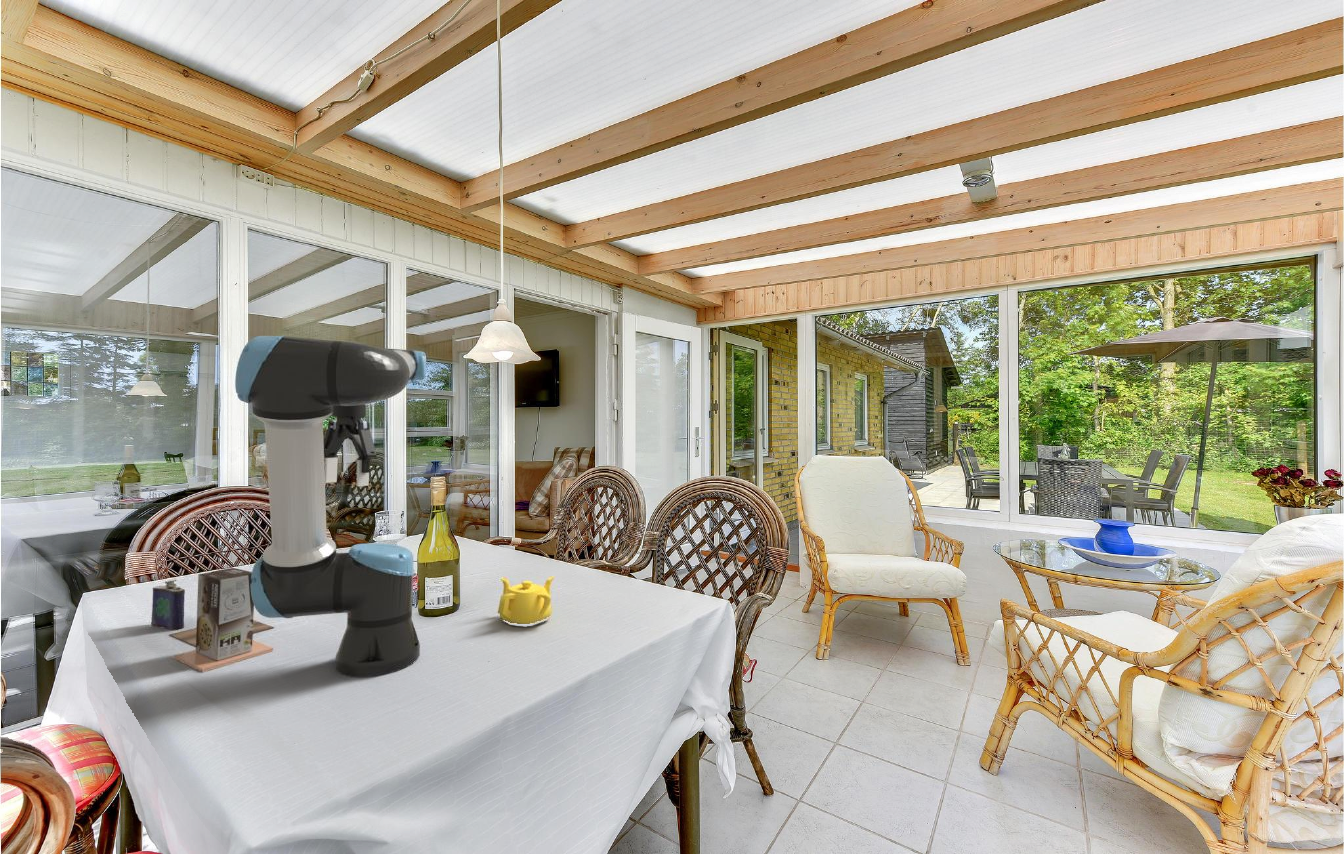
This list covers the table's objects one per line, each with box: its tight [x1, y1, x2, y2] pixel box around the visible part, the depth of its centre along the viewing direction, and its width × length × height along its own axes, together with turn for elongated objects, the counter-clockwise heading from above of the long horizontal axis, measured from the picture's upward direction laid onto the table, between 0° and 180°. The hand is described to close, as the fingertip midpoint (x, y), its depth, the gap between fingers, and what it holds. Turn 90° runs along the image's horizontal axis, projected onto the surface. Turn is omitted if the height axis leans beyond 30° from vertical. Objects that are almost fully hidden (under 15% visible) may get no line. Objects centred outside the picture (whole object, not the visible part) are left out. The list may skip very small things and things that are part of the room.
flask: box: [150, 579, 186, 631], centre depth 125 cm, size 9×3×11 cm, turn 71°
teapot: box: [497, 575, 555, 624], centre depth 135 cm, size 14×13×10 cm
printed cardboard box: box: [195, 567, 255, 661], centre depth 110 cm, size 9×6×16 cm
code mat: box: [169, 619, 275, 647], centre depth 122 cm, size 14×14×1 cm
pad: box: [173, 639, 274, 673], centre depth 110 cm, size 12×12×1 cm
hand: (346, 484), depth 139 cm, fingers open, 13 cm apart
